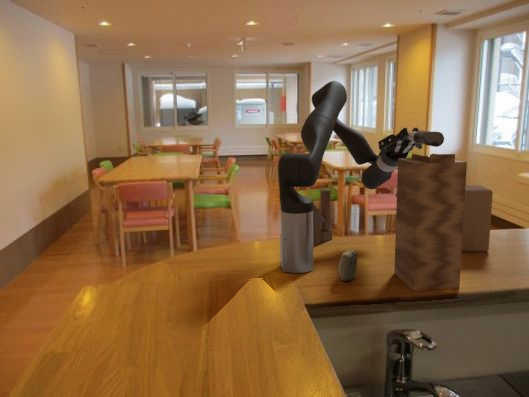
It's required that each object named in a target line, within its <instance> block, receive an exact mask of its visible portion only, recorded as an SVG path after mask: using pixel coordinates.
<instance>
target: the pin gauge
mask: <svg viewBox="0 0 529 397" xmlns="http://www.w3.org/2000/svg"><path fill="white" fill-rule="evenodd" d="M407 131H408V135H407V136H406V137H405V139H406V140H413V141H415V142H416V143H418V144H422V146H429V147H430V146H431V147H435V148H436V147H440V146H442V145H443V144H444V142H445V136H444V134H443V133H442V132H440V131H434V130H433V131H432V130H424V129H423V130H422V129H421V130H420V129H419V131H417V132H412V130H411V131H410V130H407Z"/></svg>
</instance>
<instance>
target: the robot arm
mask: <svg viewBox="0 0 529 397" xmlns="http://www.w3.org/2000/svg"><path fill="white" fill-rule="evenodd" d="M347 101H348V94H347V90H346V87H345V86H344V84H342V83H341V82H340V81H338V80H331V81H329V82H327V83H326V84H324V85H323V86H322V87H320V88H319V89H317V91H315V92H313V94H312V96H311V103H312V105H313V107H314V109H312V111H311V112H310V113H309V115H308V116H307V118H306V119H305V121H304V124H303V125H302V127H301V130H300V138H301V140H302V143H303V145H304V147H305V148H306V149H307V151H308V152H307V153H284V154H282V155H281V156H280V158H279V160H278V166H277V168H278V169H277V173H278V174H277V176H278V177H277V179H278V187H279V190H278V191H279V203H280V232H281V233H280V236H279V238H280V240H279V245H280V267H281V270H282V272H283V273H290V274H291V273H292V274H303V273H308V272H311V271H312V270H314V263H315V262H314V245H313V205H314V202H313V200H312V199H311V198H308V197H306V196H304V195H302V194H300V193H299V192H298V191H297V190H296V189H295V188H310V187H313V186H315V184H316V183H317V181H318V178H319V175H320V172H321V167H322V163H323V159H324V156H325V152H326V149H327V147H328V144H329V142H330V139H331V138H332V135H333V133H335V135H336V136H337V137H338V138H339V139H340V140H341V142H342V143H343V145H344V146H345V148H346V149H347V152H349V154H350V156H351V157H352V159H353V161H354V162H355V163H356V164H357V165H358V166H361V165H365V164H370V165H369V166H368V167H367V168H365V169H364V171H363V172H362V173H361V176H360V177H361V182H362V185H363V186H364V187H365V188H366V189H367V190H376V189H377V188H379V187H380V186H382V185H384V184H385V183H386V182H388V181H389V180H390V179H391V178H392V175H393V173H394V171H395V170H396V169H397V170H398V158H408V155H409V153H410V152H411V151H413V149H414V148H415V149H418V150H422V149H423V144H418V143H416V142H415V141H413V140H406V139H405V137H406V136H407V135H408V131H409V130H408V127H403V128H402V129H401V130H400V131H399V132H397V133H396V134H393V133H391V134H389V135H387V136H386V137H384V138H382V139H381V140H379V141H378V142H377V144H378V149H379V152H378V154H377V153H376V152H375V151H374V150H373V148H372V147H371V145H370V144H369V142H368V140H367V139H366V138H365V136H364V135H363V134H362V133H361V132H359V130H356V129H355V128H353V127H350V126H349V125H347V124H346V123H344V122H342V120H340V119H339V115H340V113H341V111H342V110H343V109H344V107H345V105H346V103H347ZM419 130H420V129H419V128H418V127H416V126H415V127H413V129H412V130H411V131H412V132H417V131H419Z"/></svg>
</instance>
